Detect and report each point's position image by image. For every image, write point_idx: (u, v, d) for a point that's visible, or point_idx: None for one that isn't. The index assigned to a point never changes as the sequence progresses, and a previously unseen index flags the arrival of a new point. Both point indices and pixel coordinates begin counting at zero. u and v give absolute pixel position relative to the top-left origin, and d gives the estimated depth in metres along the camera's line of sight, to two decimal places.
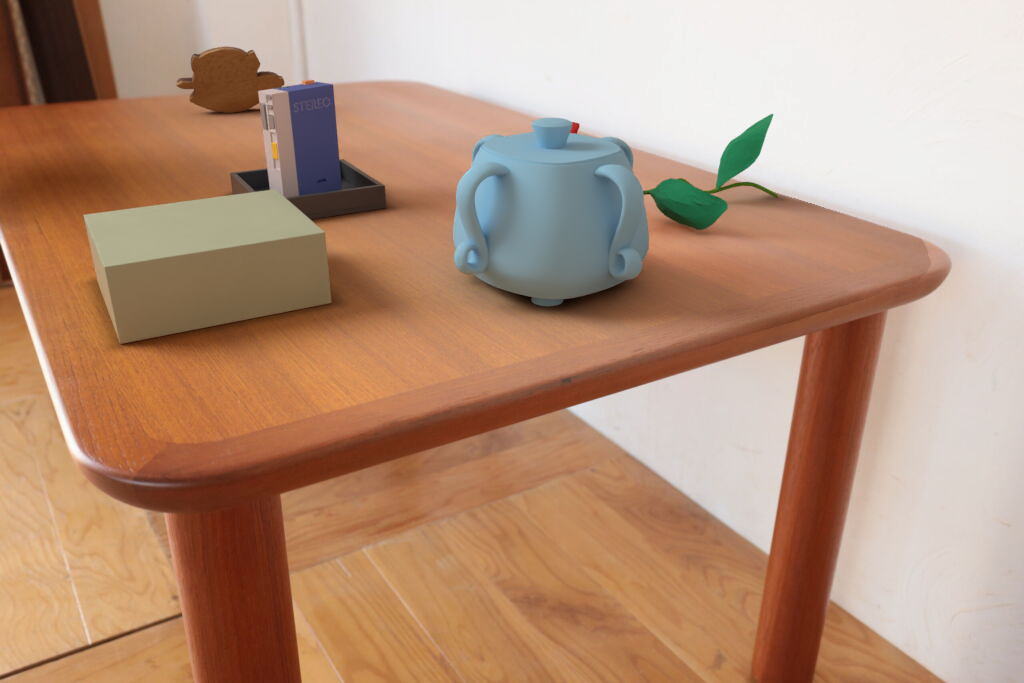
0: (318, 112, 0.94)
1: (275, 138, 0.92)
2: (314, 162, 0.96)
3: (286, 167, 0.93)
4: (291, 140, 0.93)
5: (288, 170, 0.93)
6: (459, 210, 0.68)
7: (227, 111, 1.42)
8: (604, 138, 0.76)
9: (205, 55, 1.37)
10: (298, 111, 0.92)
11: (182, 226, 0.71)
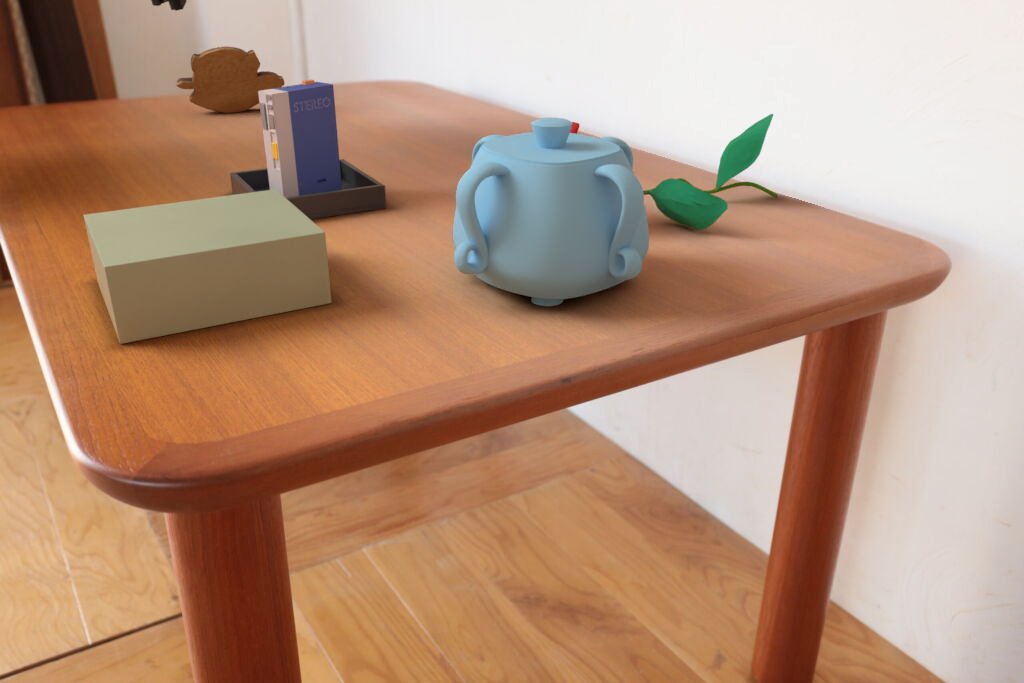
0: (318, 112, 0.94)
1: (275, 138, 0.92)
2: (314, 162, 0.96)
3: (286, 167, 0.93)
4: (291, 140, 0.93)
5: (288, 170, 0.93)
6: (459, 210, 0.68)
7: (227, 111, 1.42)
8: (604, 138, 0.76)
9: (205, 55, 1.37)
10: (298, 111, 0.92)
11: (182, 226, 0.71)
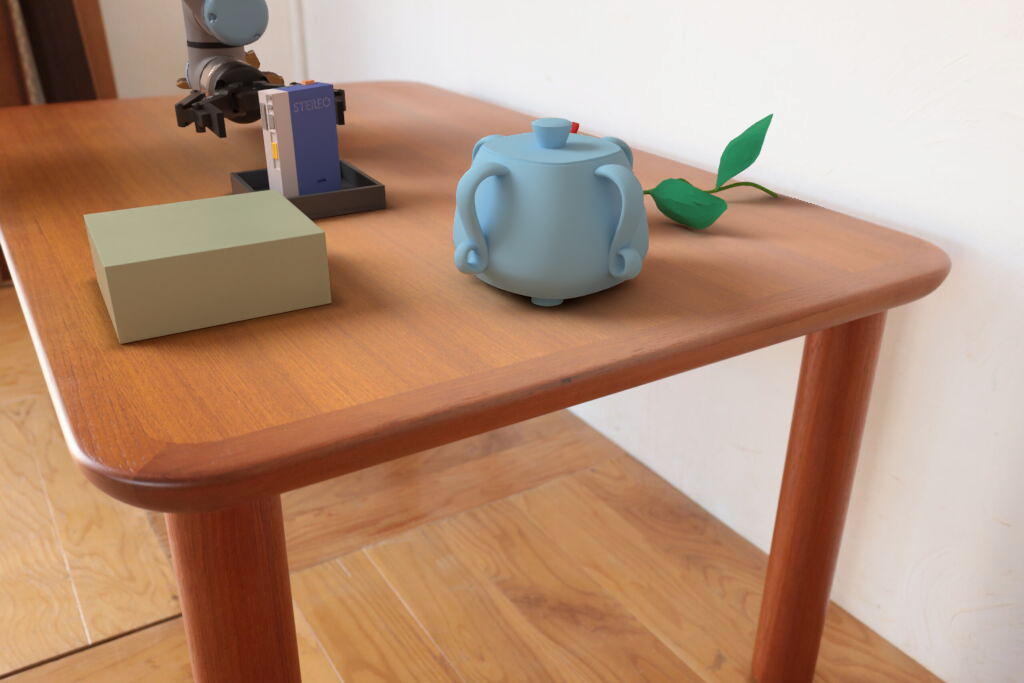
0: (318, 112, 0.94)
1: (275, 138, 0.92)
2: (314, 162, 0.96)
3: (286, 167, 0.93)
4: (291, 140, 0.93)
5: (288, 170, 0.93)
6: (459, 210, 0.68)
7: None
8: (604, 138, 0.76)
9: None
10: (298, 111, 0.92)
11: (182, 226, 0.71)
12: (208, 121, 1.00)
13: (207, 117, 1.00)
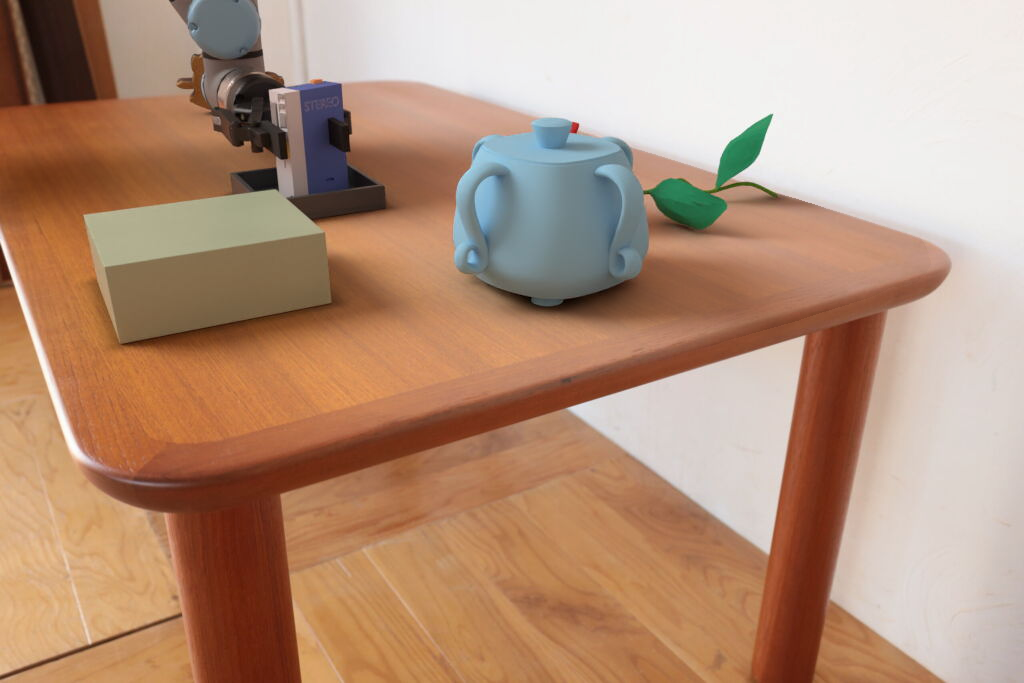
0: (327, 111, 0.95)
1: (286, 137, 0.92)
2: (323, 161, 0.96)
3: (297, 166, 0.93)
4: (301, 139, 0.93)
5: (298, 169, 0.94)
6: (459, 210, 0.68)
7: None
8: (604, 138, 0.76)
9: None
10: (308, 110, 0.93)
11: (182, 226, 0.71)
12: (267, 141, 0.92)
13: (266, 136, 0.91)
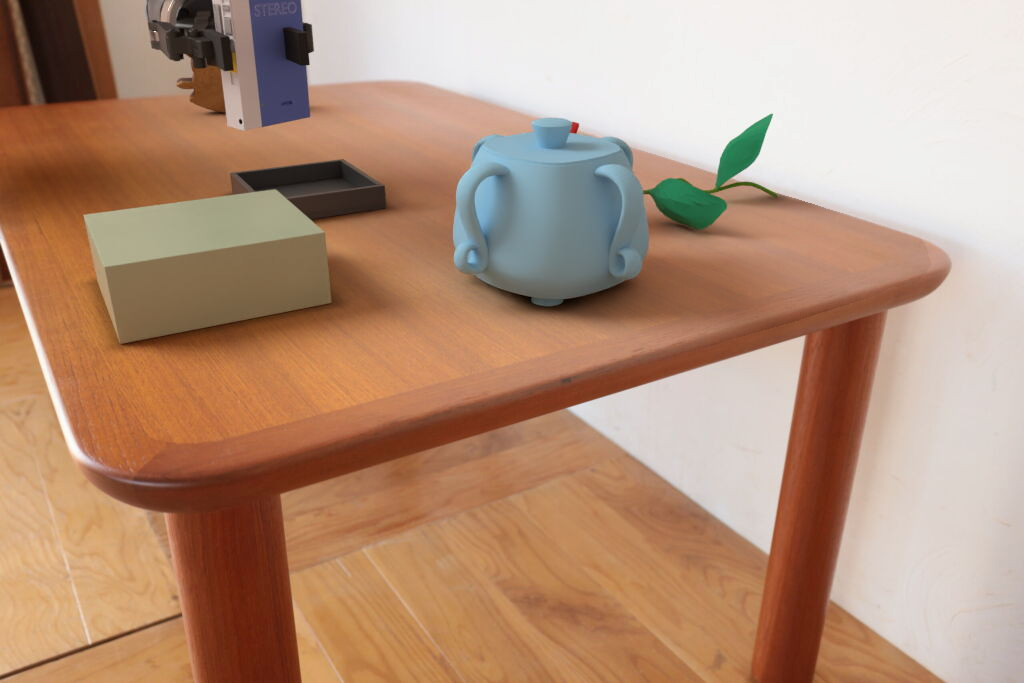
0: (283, 18, 0.80)
1: (232, 46, 0.77)
2: (278, 79, 0.81)
3: (246, 83, 0.79)
4: (251, 50, 0.78)
5: (248, 86, 0.79)
6: (459, 210, 0.68)
7: None
8: (604, 138, 0.76)
9: None
10: (259, 15, 0.78)
11: (182, 226, 0.71)
12: (209, 51, 0.77)
13: (208, 45, 0.77)
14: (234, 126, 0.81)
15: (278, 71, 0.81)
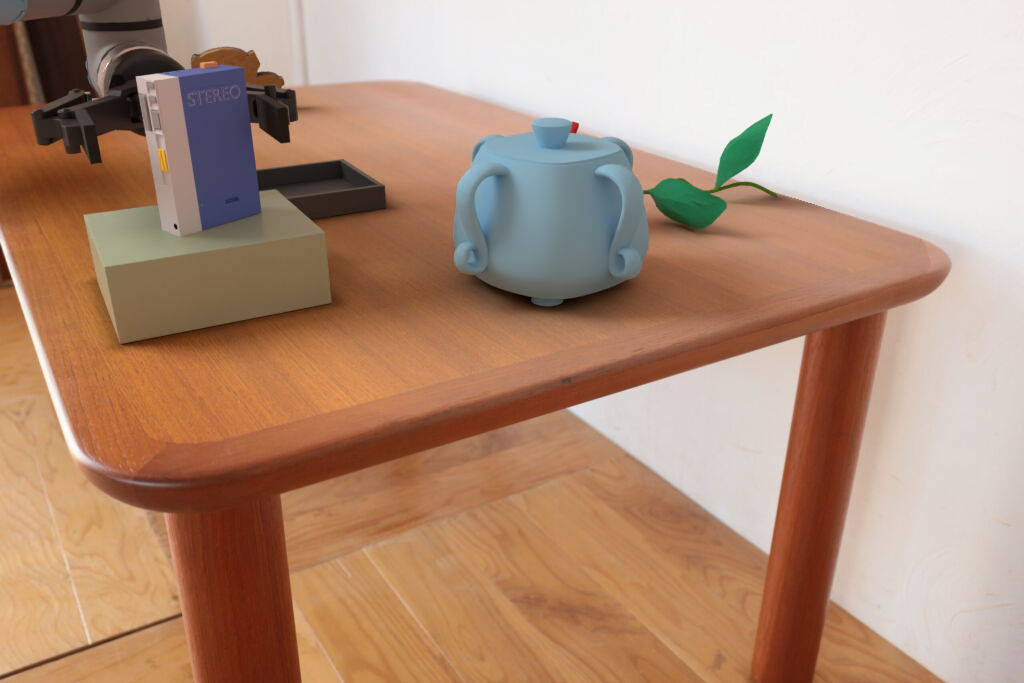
0: (224, 105, 0.68)
1: (162, 142, 0.66)
2: (221, 175, 0.70)
3: (180, 182, 0.67)
4: (186, 145, 0.67)
5: (183, 187, 0.67)
6: (459, 210, 0.68)
7: None
8: (604, 138, 0.76)
9: (205, 55, 1.37)
10: (194, 104, 0.66)
11: None
12: (77, 137, 0.65)
13: (75, 130, 0.65)
14: (169, 230, 0.69)
15: (220, 165, 0.70)
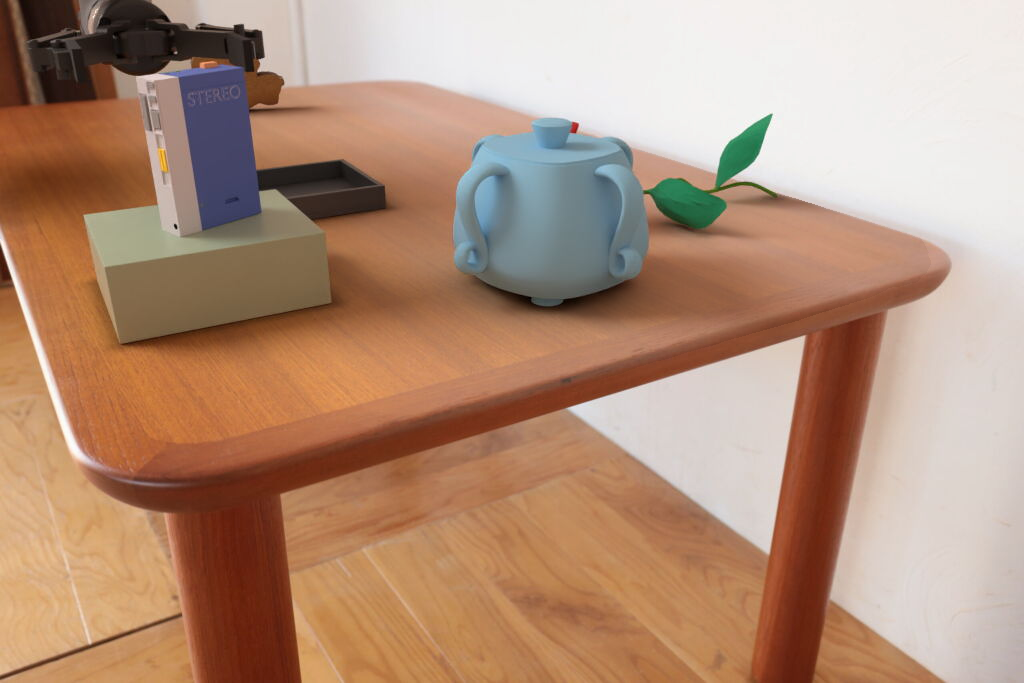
0: (224, 105, 0.68)
1: (162, 142, 0.66)
2: (221, 175, 0.70)
3: (180, 182, 0.67)
4: (186, 145, 0.67)
5: (183, 187, 0.67)
6: (459, 210, 0.68)
7: None
8: (604, 138, 0.76)
9: None
10: (194, 104, 0.66)
11: None
12: (67, 62, 0.75)
13: (65, 56, 0.75)
14: (169, 230, 0.69)
15: (220, 165, 0.70)
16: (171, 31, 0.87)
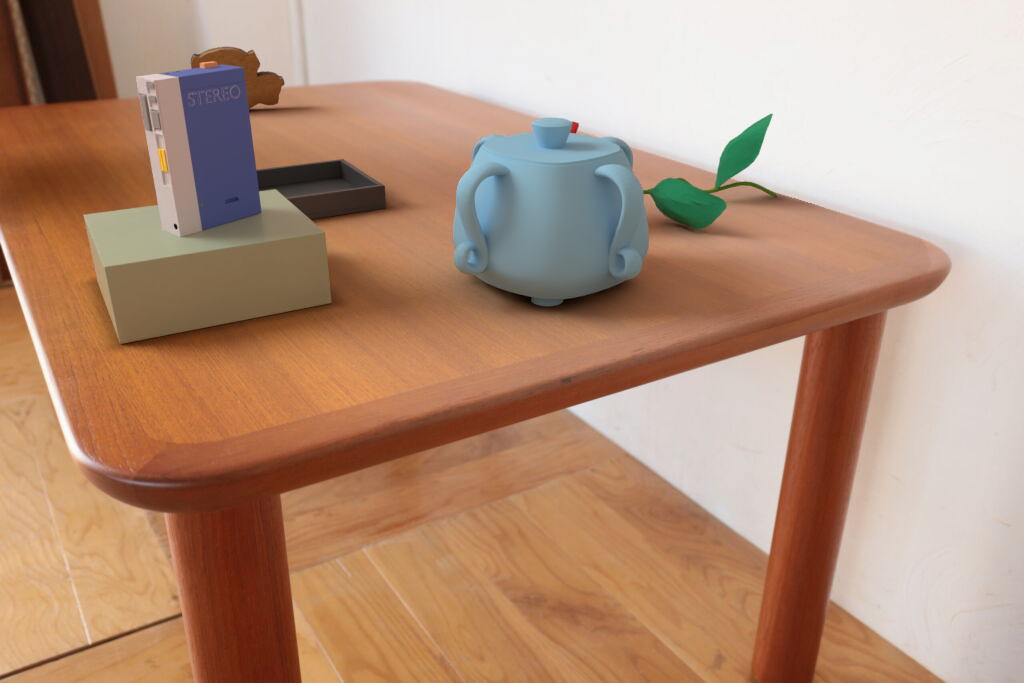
0: (224, 105, 0.68)
1: (162, 142, 0.66)
2: (221, 175, 0.70)
3: (180, 182, 0.67)
4: (186, 145, 0.67)
5: (183, 187, 0.67)
6: (459, 210, 0.68)
7: None
8: (604, 138, 0.76)
9: (205, 55, 1.37)
10: (194, 104, 0.66)
11: None
12: None
13: None
14: (169, 230, 0.69)
15: (220, 165, 0.70)
16: None
